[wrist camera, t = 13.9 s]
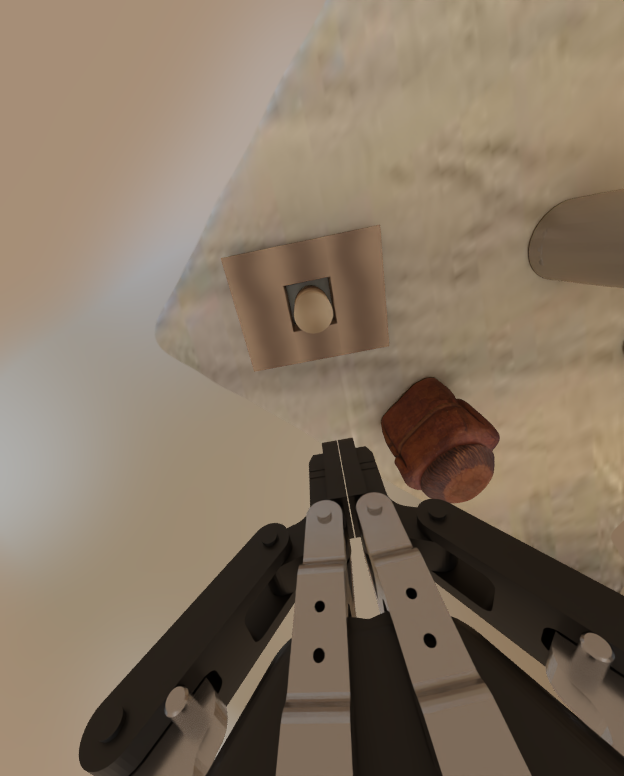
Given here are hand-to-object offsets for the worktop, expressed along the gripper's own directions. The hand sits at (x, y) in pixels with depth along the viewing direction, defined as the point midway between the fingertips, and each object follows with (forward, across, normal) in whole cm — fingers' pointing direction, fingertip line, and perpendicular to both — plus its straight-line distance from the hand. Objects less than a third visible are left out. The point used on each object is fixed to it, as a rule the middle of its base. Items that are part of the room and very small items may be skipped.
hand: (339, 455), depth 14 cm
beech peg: (+29, 0, -3) cm, 29 cm away
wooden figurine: (+29, -13, +16) cm, 36 cm away
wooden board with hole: (+29, 0, -3) cm, 29 cm away
